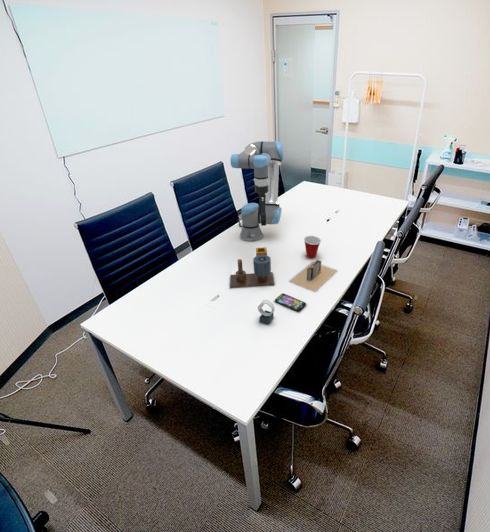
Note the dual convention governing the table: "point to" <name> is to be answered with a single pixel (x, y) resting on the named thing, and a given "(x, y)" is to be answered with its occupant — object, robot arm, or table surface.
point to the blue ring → (262, 265)
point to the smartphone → (290, 302)
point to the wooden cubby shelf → (261, 251)
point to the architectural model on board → (313, 276)
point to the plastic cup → (312, 245)
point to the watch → (266, 312)
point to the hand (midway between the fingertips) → (262, 220)
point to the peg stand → (249, 278)
